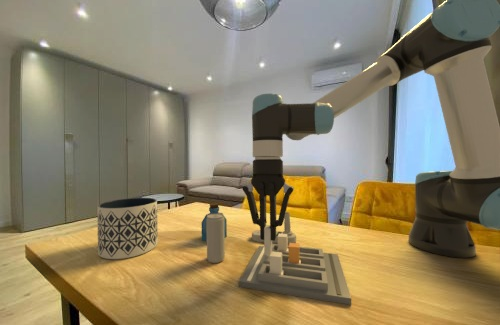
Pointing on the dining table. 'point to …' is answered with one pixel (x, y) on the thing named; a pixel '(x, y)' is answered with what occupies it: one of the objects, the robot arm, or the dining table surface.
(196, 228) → the dining table surface
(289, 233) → the electronic device
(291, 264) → the panel
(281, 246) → the breaker far
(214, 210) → the perfume bottle
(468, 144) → the robot arm
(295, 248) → the block
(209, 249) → the beverage can
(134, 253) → the planter
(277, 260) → the block
